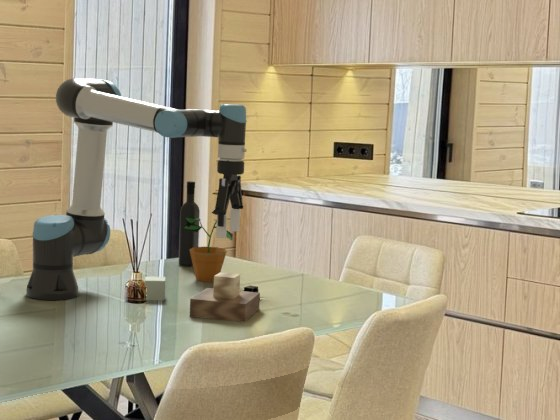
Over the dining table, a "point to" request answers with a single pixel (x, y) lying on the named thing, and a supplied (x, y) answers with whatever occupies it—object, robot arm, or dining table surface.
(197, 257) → the potted plant
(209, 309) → the walnut block
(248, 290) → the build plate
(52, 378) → the dining table surface
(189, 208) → the wine bottle
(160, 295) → the sage cube
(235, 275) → the maple cube
